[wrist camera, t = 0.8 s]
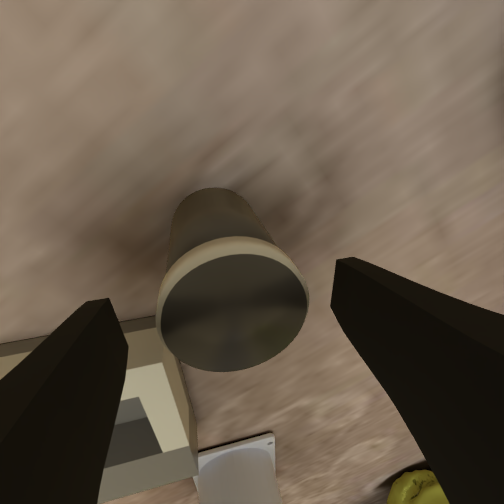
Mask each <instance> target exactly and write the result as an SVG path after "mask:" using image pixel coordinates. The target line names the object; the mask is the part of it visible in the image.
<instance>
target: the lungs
mask: <svg viewBox="0 0 504 504" xmlns="http://www.w3.org/2000/svg"><path fill="white" fill-rule="evenodd" d="M404 489H405V490H404ZM419 489H420V490H419ZM405 492H406V493H405ZM418 492H419V493H418ZM404 494H405V495H404ZM417 494H418V495H417ZM414 496H415V497H414ZM387 504H449V502H448V500H447V498H446V496H445V494H444V492H443V490H442V488H441V486H440V484H439V482H438V480H437V479H436V477H435V475H434V473H433V472H432V471H429V470H415V471H413V472H405V473H403V475H402V476H401V477H400V478H398V479H396V481H395V482H394V483H393V485H392V488H391V491H390V493H389V496H388V499H387Z"/></svg>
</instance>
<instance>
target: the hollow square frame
mask: <svg viewBox="0 0 504 504" xmlns="http://www.w3.org/2000/svg"><path fill="white" fill-rule="evenodd" d="M119 324H120V326H121V329H122V331H123V334H124V336H125V338H126V341H127V343H128V346H129V349H128V360H127V369H126V377H125V383H124V387H123V392H122V396H121V400H120V404H119V408H118V413H117V417H116V421H115V425H114V429H113V433H112V437H111V441H110V445H109V449H108V454H107V458H106V462H105V466H104V470H103V475H102V480H101V485H100V490H99V496H98V503H97V504H101V503H105V502H108V501H112V500H115V499H118V498H122V497H125V496H129V495H132V494H136V493H139V492H142V491H146V490H149V489H153V488H156V487H160V486H163V485H166V484H170V483H173V482H177V481H180V480H184V479H187V478H190V477H194V476H197V475H199V467H198V442H197V423H196V419H195V416H194V412H193V409H192V405H191V401H190V398H189V394H188V390H187V387H186V383H185V380H184V376H183V372H182V369H181V365H180V361H179V359H178V358H176V357H175V356H174V355H173V354H171V353H170V352H169V351H168V350H167V348H166V347H165V346H164V345H163V343H162V341H161V340H160V337H159V335H158V333H157V328H156V316H152V317H146V318H141V319H136V320H130V321H125V322H119ZM47 337H48V336H43V337H38V338H32V339H27V340H21V341H16V342H11V343H5V344H0V379H2V378H3V377H4V376H5V375H6V374H7V373H9V372H10V371H11V370H12V369H13V368H14V367H15V366H17V365H18V364H19V363H20V362H21V361H22V360H23V359H24V358H25V357H26V356H28V355H29V354H30V353H31V352H32V351H33V350H34V349H35V348H36V347H37V346H38V345H39V344H41V343H42V342H43V341H44V340H45V339H46V338H47Z"/></svg>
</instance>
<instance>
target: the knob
mask: <svg viewBox="0 0 504 504" xmlns="http://www.w3.org/2000/svg"><path fill="white" fill-rule="evenodd" d="M308 307H309V293H308V288H307V285H306V282H305V280H304V278H303V276H302V275H301V273H300V272H299V270H298V269H297V267H296V266H295V265H294V263H293V262H292V260H291V259H290V258H289V257H288V255H287V254H286V253H284V252H283V251H282V250H281V249H280V248H278V247H277V246H276V245H275V243H274V242H273V240H272V239H271V237H270V236H269V234H268V233H267V231H266V230H265V228H264V227H263V225H262V224H261V222H260V221H259V219H258V218H257V216H256V215H255V213H254V212H253V210H252V209H251V207H250V206H249V204H248V203H247V202H246V201H245V200H244V199H243V198H242V197H241V196H239V195H238V194H236V193H234V192H232V191H230V190H227V189H222V188H207V189H202V190H199V191H197V192H194V193H192V194H191V195H189V196H188V197H186V198H185V199H184V200H183V201H182V202H181V203H180V204H179V206H178V207H177V209H176V211H175V213H174V215H173V219H172V224H171V233H170V242H169V251H168V260H167V269H166V275H165V277H164V279H163V281H162V283H161V287H160V290H159V295H158V302H157V309H156V328H157V333H158V335H159V337H160V340H161V341H162V343H163V345H164V346H165V347H166V348H167V350H168V351H169V352H170V353H171V354H173V355H174V356H175V357H176V358H178V359H179V360H180V361H182V362H184V363H185V364H187V365H190V366H192V367H194V368H198V369H201V370H206V371H213V372H230V371H238V370H243V369H247V368H250V367H253V366H256V365H259V364H261V363H263V362H265V361H267V360H269V359H271V358H272V357H274V356H276V355H277V354H278V353H280V352H281V351H282V350H284V349H285V348H286V347H287V346H288V345H289V344H290V343H291V342H292V341H293V340H294V338H295V337H296V336H297V334H298V333H299V331H300V329H301V327H302V325H303V323H304V320H305V318H306V315H307V312H308Z"/></svg>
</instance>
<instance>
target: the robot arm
mask: <svg viewBox="0 0 504 504" xmlns="http://www.w3.org/2000/svg"><path fill="white" fill-rule="evenodd" d="M330 307H331V309H332V311H333V313H334V315H335V317H336V319H337V321H338V322H339V324H340V326H341V328H342V330H343V332H344V333H345V335H346V336H347V337H348V339H349V340H350V342H351V343H352V345H353V346H354V348H355V349H356V350H357V352H358V353H359V355H360V356H361V357H362V359H363V360H364V362H365V363H366V364H367V366H368V367H369V369H370V370H371V371H372V373H373V374H374V376H375V377H376V379H377V380H378V381H379V383H380V384H381V386H382V387H383V388H384V390H385V391H386V393H387V394H388V396H389V397H390V399H391V400H392V402H393V403H394V405H395V406H396V408H397V410H398V411H399V413H400V415H401V417H402V418H403V420H404V422H405V423H406V425H407V427H408V429H409V430H410V432H411V434H412V435H413V437H414V439H415V441H416V442H417V444H418V446H419V448H420V450H421V451H422V453H423V455H424V457H425V459H426V461H427V462H428V464H429V466H430V468H431V470H432V471H433V473H434V475H435V477H436V479H437V480H438V482H439V484H440V486H441V488H442V490H443V492H444V494H445V496H446V498H447V500H448V502H449V504H504V315H502V314H499V313H496V312H493V311H490V310H487V309H484V308H481V307H478V306H475V305H472V304H469V303H467V302H464V301H461V300H459V299H456V298H453V297H451V296H448V295H446V294H443V293H440V292H438V291H435V290H433V289H430V288H428V287H425V286H423V285H421V284H418V283H416V282H413V281H411V280H409V279H406V278H404V277H402V276H399V275H397V274H395V273H392V272H390V271H388V270H385V269H383V268H381V267H378V266H376V265H373V264H371V263H369V262H366V261H363V260H361V259H358V258H355V257H349V258H343V259H337V260H336V267H335V274H334V282H333V290H332V297H331V305H330ZM128 349H129V346H128V343H127V341H126V338H125V336H124V334H123V331H122V329H121V326H120V324H119V321H118V319H117V316H116V314H115V311H114V309H113V306H112V304H111V301H110V299H109V298H105V299H99V300H93V301H87V302H85V303H84V304H83V305H82V306H81V307H79V308H78V309H77V310H76V311H75V312H74V313H73V314H72V315H71V316H70V317H68V318H67V319H66V320H65V321H64V322H63V323H62V324H61V325H60V326H59V327H58V328H57V329H56V330H55V331H53V332H52V333H51V334H50V335H49V336H48V337H47V338H46V339H45V340H44V341H43V342H42V343H41V344H39V345H38V346H37V347H36V348H35V349H34V350H33V351H32V352H31V353H30V354H29V355H28V356H26V357H25V358H24V359H23V360H22V361H21V362H20V363H19V364H18V365H17V366H15V367H14V368H13V369H12V370H11V371H10V372H9V373H7V374H6V375H5V376H4V377H3V378H2V379H0V504H97V503H98V496H99V490H100V485H101V480H102V475H103V470H104V466H105V462H106V458H107V454H108V449H109V445H110V441H111V437H112V433H113V429H114V425H115V421H116V417H117V413H118V408H119V404H120V400H121V396H122V392H123V387H124V383H125V377H126V369H127V360H128ZM198 467H199V475H197V476H194V477H193V480H194V483H195V486H196V488H197V491H198V495H199V504H283V503H282V499H281V495H280V491H279V487H278V483H277V479H276V475H275V437H274V434H272V433H268V434H265V435H261V436H257V437H254V438H250V439H247V440H243V441H239V442H236V443H232V444H229V445H225V446H221V447H218V448H214V449H211V450H207V451H203V452H200V453H198Z"/></svg>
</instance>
